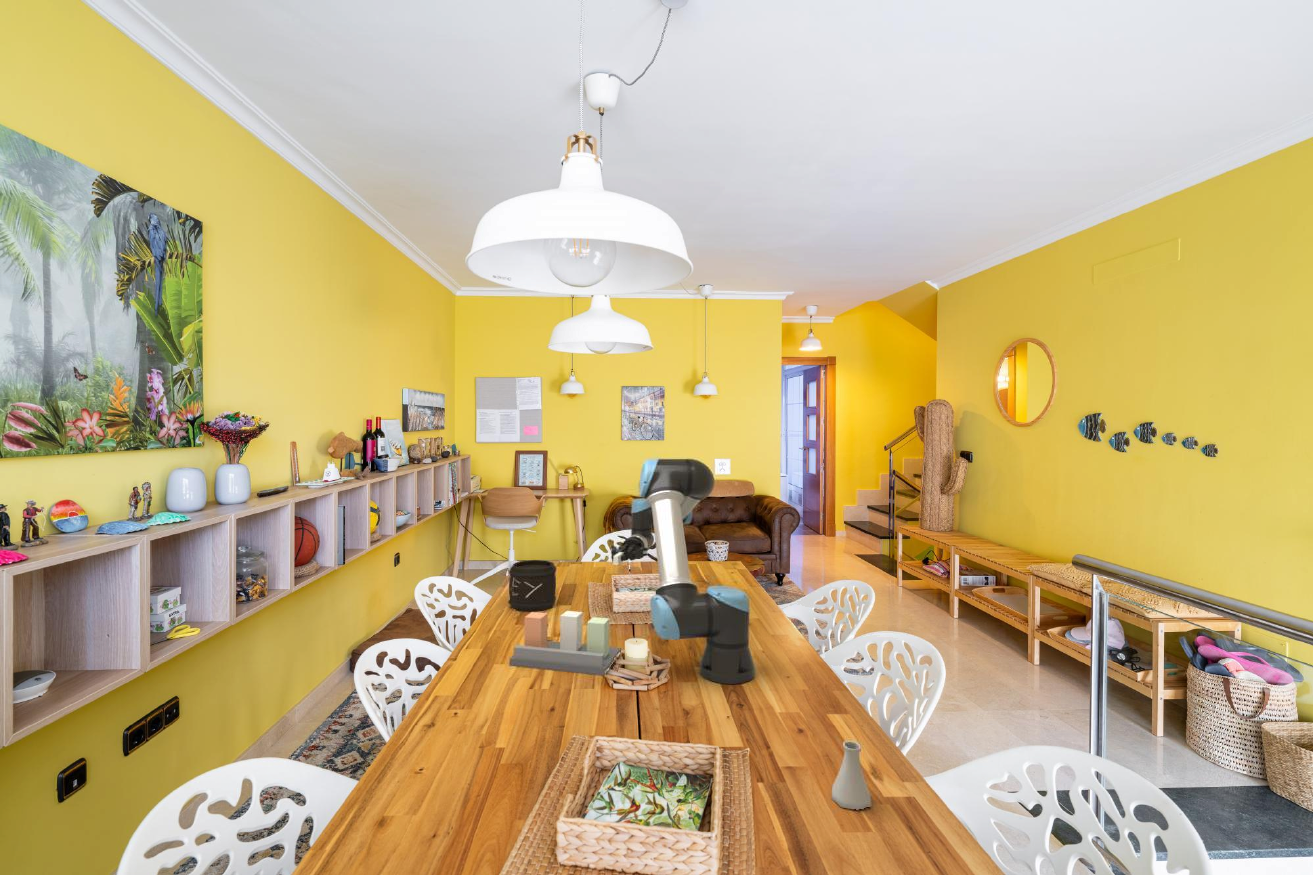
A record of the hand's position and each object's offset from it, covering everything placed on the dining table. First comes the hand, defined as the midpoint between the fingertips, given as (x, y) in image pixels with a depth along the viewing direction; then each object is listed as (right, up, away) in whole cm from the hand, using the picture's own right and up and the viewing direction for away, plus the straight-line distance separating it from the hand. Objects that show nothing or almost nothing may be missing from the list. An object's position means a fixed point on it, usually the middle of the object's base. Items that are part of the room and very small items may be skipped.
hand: (615, 560), depth 189 cm
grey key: (-12, -24, -10) cm, 29 cm away
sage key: (-4, -24, -16) cm, 29 cm away
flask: (+48, -28, -78) cm, 96 cm away
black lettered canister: (-34, -25, +39) cm, 58 cm away
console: (-13, -26, -14) cm, 32 cm away
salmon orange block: (-23, -23, -12) cm, 35 cm away
